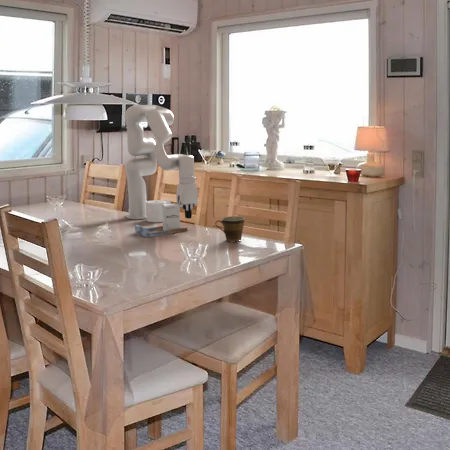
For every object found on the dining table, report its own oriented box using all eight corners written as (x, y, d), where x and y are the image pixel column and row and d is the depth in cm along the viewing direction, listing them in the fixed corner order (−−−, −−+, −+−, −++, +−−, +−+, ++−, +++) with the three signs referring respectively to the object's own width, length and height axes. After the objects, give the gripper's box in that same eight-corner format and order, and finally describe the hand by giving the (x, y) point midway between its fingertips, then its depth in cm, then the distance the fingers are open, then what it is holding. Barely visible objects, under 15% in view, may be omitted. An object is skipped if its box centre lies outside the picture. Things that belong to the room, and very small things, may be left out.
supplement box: (165, 232, 294) (164, 206, 291) (162, 229, 301) (161, 203, 298) (180, 231, 296) (179, 205, 293) (177, 228, 303) (176, 202, 300)
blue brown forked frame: (135, 233, 293) (134, 224, 292) (174, 226, 306) (174, 219, 305) (147, 237, 284) (146, 228, 283) (187, 230, 297) (187, 222, 296)
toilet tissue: (142, 221, 321) (141, 202, 319) (155, 217, 331) (155, 199, 329) (159, 223, 316) (158, 203, 314) (172, 219, 326) (171, 200, 324)
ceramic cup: (244, 237, 280) (243, 216, 278) (245, 242, 270) (245, 220, 268) (215, 238, 279) (215, 216, 277) (216, 243, 270) (215, 221, 268)
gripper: (195, 178, 306) (196, 215, 310) (169, 181, 298) (171, 219, 301) (204, 180, 300) (205, 217, 304) (177, 183, 292) (179, 221, 295)
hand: (188, 218), depth 303 cm, fingers closed
